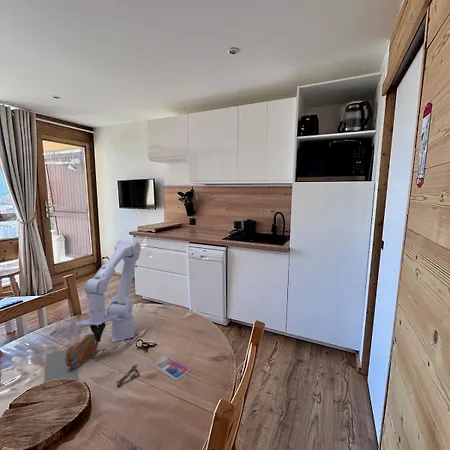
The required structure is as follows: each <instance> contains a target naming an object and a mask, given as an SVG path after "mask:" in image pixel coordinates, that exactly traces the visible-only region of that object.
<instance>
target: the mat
mask: <svg viewBox="0 0 450 450" xmlns="http://www.w3.org/2000/svg"><path fill="white" fill-rule="evenodd" d="M68 349H69V348H67V349H63V350H59V351H55V352H51V353H47V354H46V357H45V358H46V359H45V371H44V380H43V381H44V382H46V381H50V380H54V379H61V378H72V379H78V380H79V375H78V374H79V373H78V367H77V368H73V367H68V366H67V365H66V361H65V359H66V353H67V351H68ZM44 382H43V383H44Z"/></svg>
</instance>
